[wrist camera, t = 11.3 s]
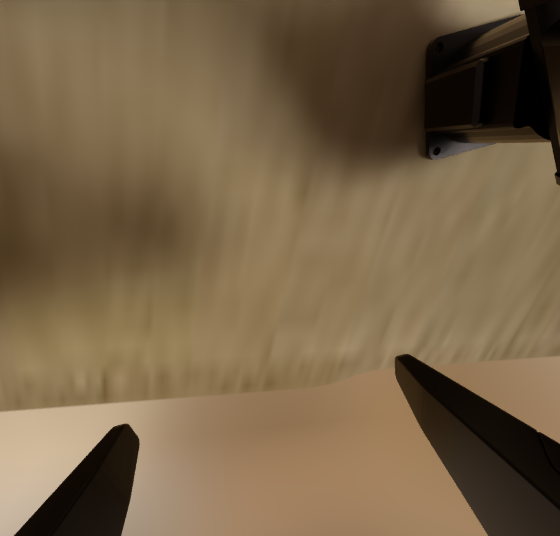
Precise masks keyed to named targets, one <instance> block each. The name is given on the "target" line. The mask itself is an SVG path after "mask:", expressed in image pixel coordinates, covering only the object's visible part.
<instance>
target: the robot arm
mask: <svg viewBox="0 0 560 536" xmlns="http://www.w3.org/2000/svg"><path fill="white" fill-rule="evenodd" d="M518 1H519V6H520V11H523V10H524V11H525V14H523V15H519V16H515V17H512V18H508V19H504V20H500V21H497V22H493V23H489V24H486V25H482V26H478V27H474V28H471V29H467V30H463V31H459V32H456V33H452V34H448V35H445V36H441V37H438V38H436V39H435V40H433V41H431V42H430V44H429V45H428V47H427V51H426V83H425V123H424V127H425V129H426V157H427V158H428V159H433V160H435V159H440V158H444V157H447V156H451V155H455V154H459V153H462V152H466V151H470V150H473V149H477V148H481V147H485V146H488V145H492V144H496V143H528V142H551V144H552V149H553V154H554V159H555V164H556V169H557V172H556V173H555V179H556V183H557V184H558V185H560V0H518ZM436 45H437V46H438V47H439V51H438V53H436V52H435V46H436ZM435 148H436V150H437V151H436V153H435V154H433V150H434V149H435ZM395 375H396V379H397V381H398V383H399V385H400V387H401V389H402V391H403V393H404V395H405V397H406V399H407V401H408V403H409V405H410V407H411V409H412V411H413V413H414V415H415V417H416V419H417V421H418V423H419V425H420V427H421V429H422V430H423V432H424V434H425V435H426V437H427V439H428V440H429V441H430V443H431V445H432V447H433V448H434V450H435V451H436V453H437V455H438V456H439V458H440V459H441V461H442V462H443V464H444V466H445V467H446V469H447V470H448V472H449V474H450V475H451V477H452V478H453V480H454V482H455V483H456V485H457V487H458V488H459V490H460V491H461V492H462V494H463V496H464V498H465V499H466V501H467V503H468V504H469V506H470V507H471V509H472V510H473V512H474V514H475V515H476V517H477V518H478V520H479V522H480V523H481V525H482V526H483V528H484V530H485V531H486V533H487V534H488V536H560V444H559V443H558V442H556V441H554V440H553V439H551V438H549V437H547V436H546V435H544V434H542V433H541V432H537V431H536V430H535V429H534V428H532V427H531V426H529V425H527V424H525V423H524V422H522V421H520V420H519V419H517V418H515V417H514V416H512V415H510V414H509V413H507V412H505V411H503V410H502V409H500V408H499V407H497V406H495V405H494V404H492V403H490V402H488V401H487V400H485V399H483V398H482V397H480V396H478V395H476V394H475V393H473V392H471V391H470V390H468V389H466V388H465V387H463V386H461V385H460V384H458V383H456V382H455V381H453V380H451V379H450V378H448V377H446V376H445V375H443V374H441V373H440V372H438V371H436V370H435V369H433V368H431V367H430V366H428V365H426V364H425V363H423V362H421V361H420V360H418V359H416V358H414V357H413V356H411V355H409V354H403V355H399V356H396V357H395ZM138 451H139V438H138V436H137V435H136V434H135V432H134V431H133V429H132V428H131V427H130V425H129V424H122V425H118V426H115V427H113V428H112V429H111V430H110V431H109V432H108V433H107V434H106V435H105V436H104V438H103V439H102V440H101V441H100V442H99V443H98V444H97V445H96V446H95V447H94V449H92V451H91V452H90V453H89V454H88V455H87V456H86V458H84V459H83V460H82V462H81V463H80V464H79V465H78V466H77V467H76V468H75V469H74V470H73V471H72V473H71V474H70V475H69V476H68V477H67V478H66V479H65V480H64V481H63V482H62V484H61V485H60V486H59V487H58V488H57V489H56V490H55V492H53V493H52V495H51V496H50V497H49V498H48V499H47V500H46V501H45V502H44V503H43V504H42V505H41V507H40V508H39V509H38V510H37V511H36V512H35V513H34V514H33V515H32V516H31V518H30V519H29V520H28V521H27V522H26V523H25V524H24V525H23V526H22V527H21V529H20V530H19V531H18V532H17V533H16V534H15V535H14V536H121V534H122V530H123V526H124V522H125V518H126V514H127V511H128V506H129V502H130V498H131V492H132V487H133V481H134V475H135V469H136V463H137V457H138Z"/></svg>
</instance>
